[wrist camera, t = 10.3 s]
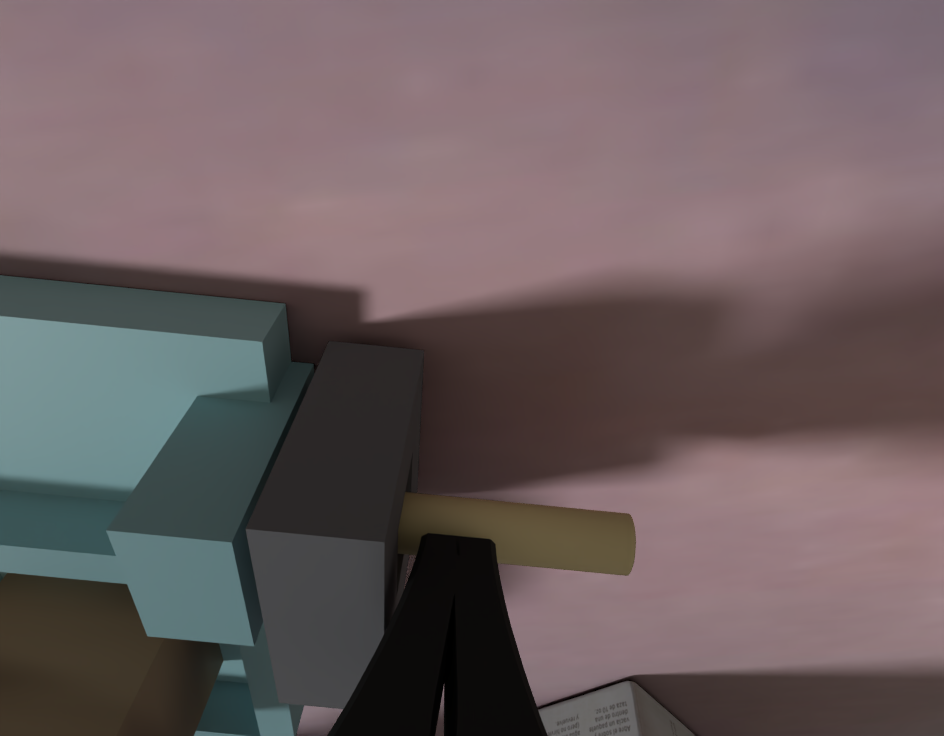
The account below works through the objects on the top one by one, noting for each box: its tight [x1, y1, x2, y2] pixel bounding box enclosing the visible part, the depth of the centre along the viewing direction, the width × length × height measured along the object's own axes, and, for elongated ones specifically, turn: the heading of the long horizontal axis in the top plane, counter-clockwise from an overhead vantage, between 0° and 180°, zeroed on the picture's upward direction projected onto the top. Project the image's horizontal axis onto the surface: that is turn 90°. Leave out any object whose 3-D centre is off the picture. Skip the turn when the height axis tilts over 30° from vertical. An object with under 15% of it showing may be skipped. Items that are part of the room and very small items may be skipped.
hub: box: [246, 341, 424, 709], centre depth 12 cm, size 5×2×5 cm, turn 175°
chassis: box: [0, 275, 636, 736], centre depth 15 cm, size 14×16×5 cm
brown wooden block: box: [0, 573, 223, 736], centre depth 15 cm, size 4×4×6 cm
